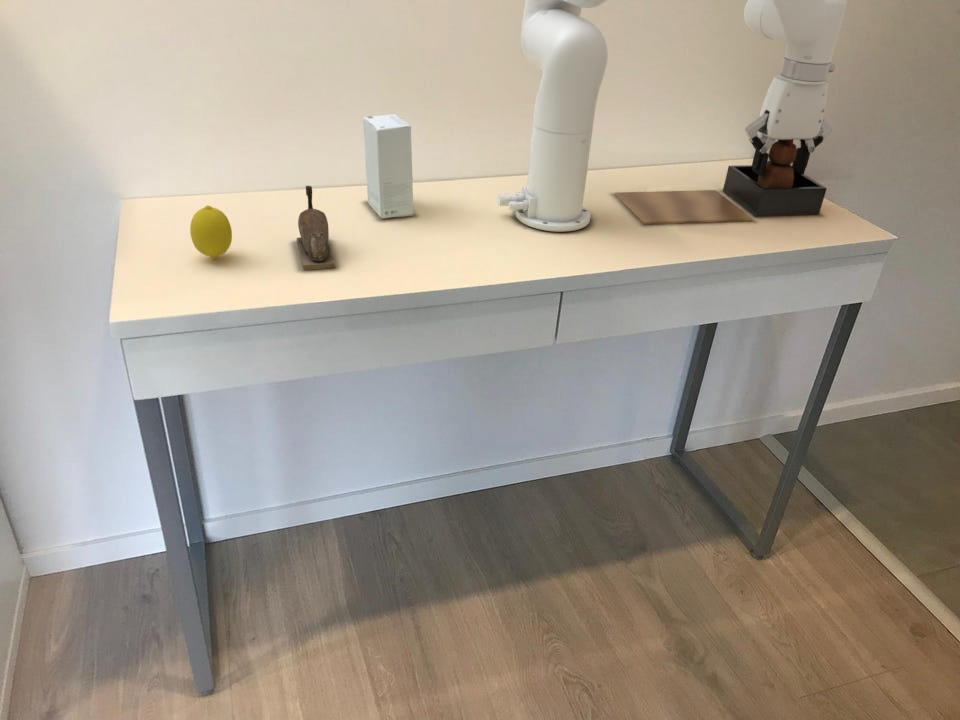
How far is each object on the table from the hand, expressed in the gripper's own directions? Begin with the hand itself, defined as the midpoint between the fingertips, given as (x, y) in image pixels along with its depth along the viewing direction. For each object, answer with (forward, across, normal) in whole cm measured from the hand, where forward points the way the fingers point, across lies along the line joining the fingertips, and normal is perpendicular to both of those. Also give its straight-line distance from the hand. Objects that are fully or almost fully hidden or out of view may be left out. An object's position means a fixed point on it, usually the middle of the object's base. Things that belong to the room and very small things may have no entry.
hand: (777, 171), depth 143 cm
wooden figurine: (+6, 0, 0) cm, 6 cm away
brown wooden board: (+6, +18, +1) cm, 19 cm away
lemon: (+6, +97, +15) cm, 98 cm away
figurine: (+6, +83, +13) cm, 84 cm away
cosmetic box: (+6, +70, -2) cm, 70 cm away
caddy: (+6, 0, 0) cm, 6 cm away
